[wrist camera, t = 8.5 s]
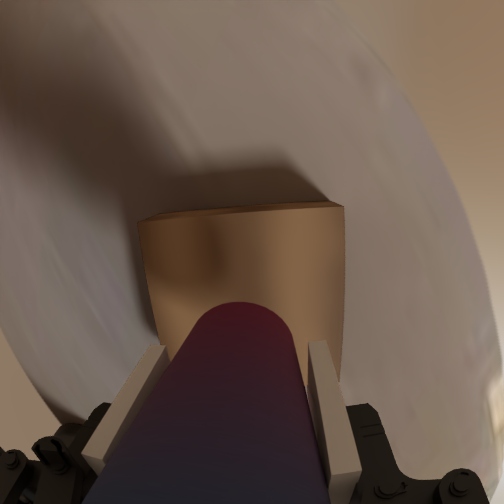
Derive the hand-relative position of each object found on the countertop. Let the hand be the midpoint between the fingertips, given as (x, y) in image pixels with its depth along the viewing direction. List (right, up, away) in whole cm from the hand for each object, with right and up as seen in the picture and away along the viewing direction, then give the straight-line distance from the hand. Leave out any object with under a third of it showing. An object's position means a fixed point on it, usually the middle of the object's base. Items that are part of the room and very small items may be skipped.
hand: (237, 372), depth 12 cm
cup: (0, +1, +2) cm, 2 cm away
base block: (0, +2, +10) cm, 10 cm away
